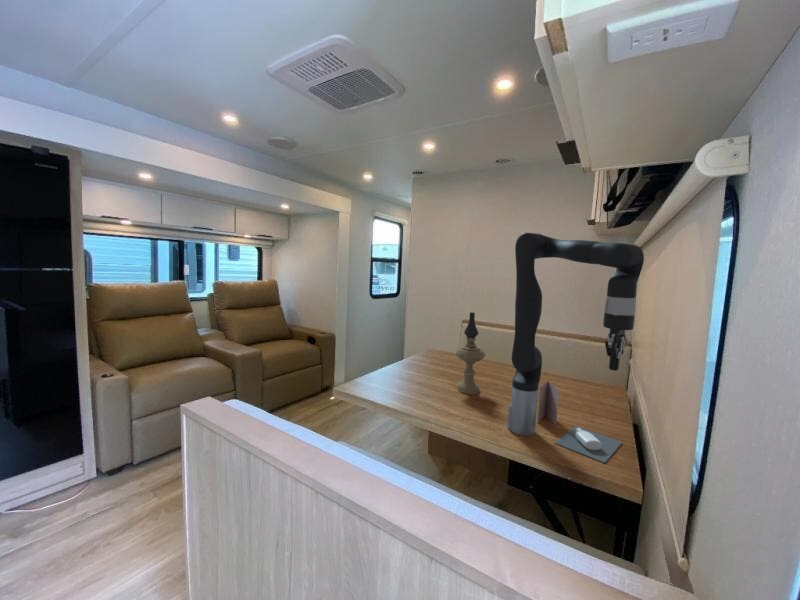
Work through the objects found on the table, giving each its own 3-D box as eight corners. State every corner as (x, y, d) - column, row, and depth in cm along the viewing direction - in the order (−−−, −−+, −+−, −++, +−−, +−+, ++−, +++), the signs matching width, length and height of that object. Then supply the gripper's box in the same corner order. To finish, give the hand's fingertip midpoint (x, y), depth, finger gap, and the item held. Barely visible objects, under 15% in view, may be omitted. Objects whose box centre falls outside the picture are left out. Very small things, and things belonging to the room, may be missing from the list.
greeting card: (543, 413, 145) (546, 380, 143) (562, 418, 140) (564, 384, 139) (535, 422, 136) (537, 386, 134) (554, 428, 131) (557, 391, 130)
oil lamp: (451, 392, 165) (454, 313, 161) (455, 383, 179) (459, 310, 176) (482, 397, 161) (486, 315, 157) (484, 387, 175) (488, 312, 171)
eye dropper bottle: (599, 437, 114) (581, 421, 126) (584, 443, 115) (567, 427, 127) (604, 447, 115) (585, 431, 127) (589, 454, 115) (572, 437, 127)
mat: (554, 443, 119) (554, 442, 119) (575, 426, 133) (575, 425, 133) (604, 463, 108) (604, 462, 108) (622, 443, 121) (622, 442, 121)
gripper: (611, 309, 105) (606, 363, 107) (597, 312, 96) (592, 370, 98) (640, 312, 99) (634, 368, 101) (628, 315, 90) (621, 377, 92)
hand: (613, 369), depth 99 cm, fingers closed
